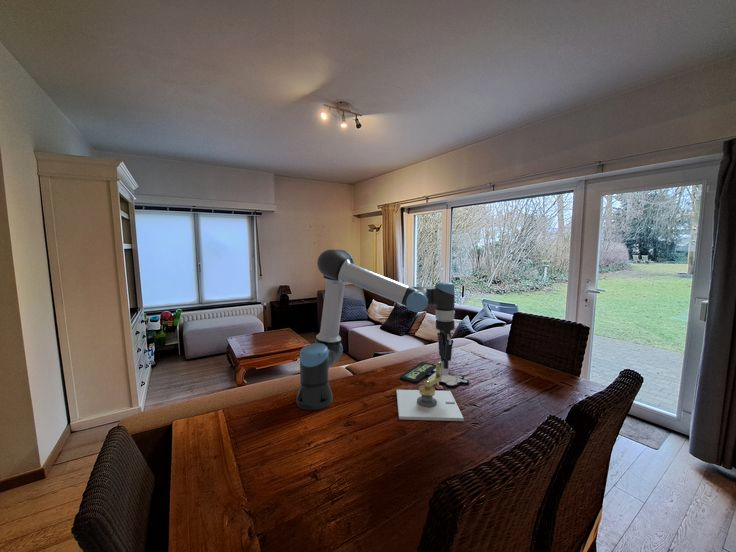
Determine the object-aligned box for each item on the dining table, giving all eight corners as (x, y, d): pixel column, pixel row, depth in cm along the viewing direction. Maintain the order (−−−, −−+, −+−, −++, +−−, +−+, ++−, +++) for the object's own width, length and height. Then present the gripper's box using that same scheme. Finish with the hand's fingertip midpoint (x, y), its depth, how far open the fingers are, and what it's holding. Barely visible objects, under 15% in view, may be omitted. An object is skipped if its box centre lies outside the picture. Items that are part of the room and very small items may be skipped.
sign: (422, 361, 168) (476, 374, 150) (422, 364, 168) (475, 377, 150) (397, 377, 147) (456, 394, 129) (397, 380, 147) (456, 398, 129)
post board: (399, 419, 112) (399, 406, 112) (396, 392, 134) (396, 381, 133) (463, 421, 111) (463, 408, 110) (450, 393, 133) (450, 382, 132)
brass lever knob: (429, 398, 117) (429, 371, 116) (415, 392, 122) (416, 367, 121) (446, 388, 126) (447, 363, 125) (433, 383, 131) (434, 359, 130)
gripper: (459, 322, 117) (459, 381, 118) (448, 316, 129) (448, 368, 131) (441, 323, 116) (441, 382, 118) (431, 316, 129) (431, 369, 130)
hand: (444, 375), depth 124 cm, fingers closed
